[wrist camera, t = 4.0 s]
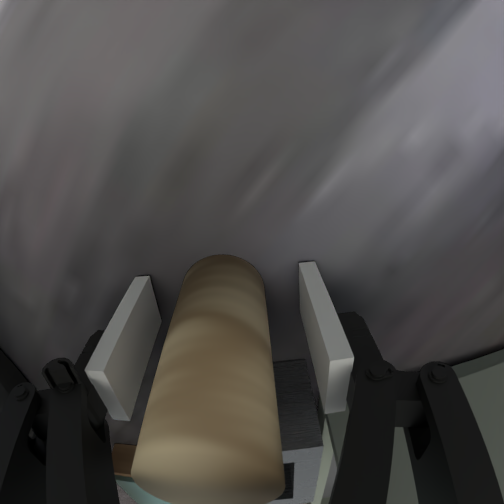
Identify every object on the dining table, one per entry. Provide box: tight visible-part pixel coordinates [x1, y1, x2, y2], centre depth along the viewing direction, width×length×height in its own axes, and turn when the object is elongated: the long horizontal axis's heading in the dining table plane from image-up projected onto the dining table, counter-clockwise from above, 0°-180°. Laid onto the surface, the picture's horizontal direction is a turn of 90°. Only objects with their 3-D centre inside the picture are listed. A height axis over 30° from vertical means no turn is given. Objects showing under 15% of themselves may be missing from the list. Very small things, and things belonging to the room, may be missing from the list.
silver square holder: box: [267, 359, 324, 504], centre depth 17 cm, size 8×8×6 cm
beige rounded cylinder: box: [131, 255, 285, 504], centre depth 11 cm, size 4×4×10 cm
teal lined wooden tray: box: [112, 443, 172, 504], centre depth 24 cm, size 13×17×4 cm
